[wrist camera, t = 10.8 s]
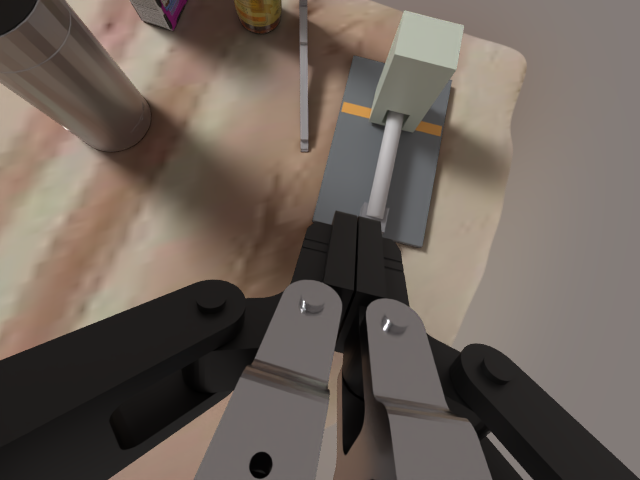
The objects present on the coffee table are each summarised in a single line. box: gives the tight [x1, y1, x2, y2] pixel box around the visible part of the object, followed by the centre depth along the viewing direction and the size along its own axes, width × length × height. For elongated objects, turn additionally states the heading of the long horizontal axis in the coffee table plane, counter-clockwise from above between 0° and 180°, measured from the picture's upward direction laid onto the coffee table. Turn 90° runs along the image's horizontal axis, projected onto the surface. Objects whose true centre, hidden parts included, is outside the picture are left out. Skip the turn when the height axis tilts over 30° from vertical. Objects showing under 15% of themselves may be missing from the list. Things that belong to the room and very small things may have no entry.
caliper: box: [299, 0, 308, 152], centre depth 40 cm, size 20×1×6 cm, turn 1°
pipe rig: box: [312, 55, 452, 248], centre depth 39 cm, size 14×24×4 cm, turn 167°
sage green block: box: [369, 10, 464, 133], centre depth 35 cm, size 6×5×12 cm
